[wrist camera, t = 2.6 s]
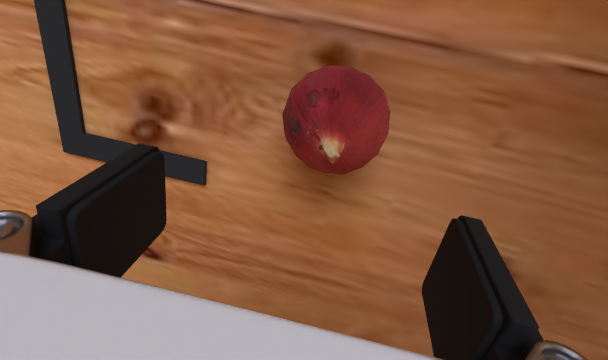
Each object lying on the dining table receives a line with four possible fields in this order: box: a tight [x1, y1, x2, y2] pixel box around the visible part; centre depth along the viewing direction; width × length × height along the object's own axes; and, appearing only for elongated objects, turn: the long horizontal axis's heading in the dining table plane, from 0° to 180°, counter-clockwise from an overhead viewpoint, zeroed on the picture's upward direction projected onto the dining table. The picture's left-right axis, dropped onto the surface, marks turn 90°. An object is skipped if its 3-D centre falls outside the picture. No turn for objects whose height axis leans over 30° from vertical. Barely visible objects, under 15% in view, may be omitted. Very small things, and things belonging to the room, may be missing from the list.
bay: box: [34, 0, 207, 185], centre depth 23 cm, size 17×12×1 cm
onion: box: [283, 66, 390, 174], centre depth 19 cm, size 6×6×8 cm
